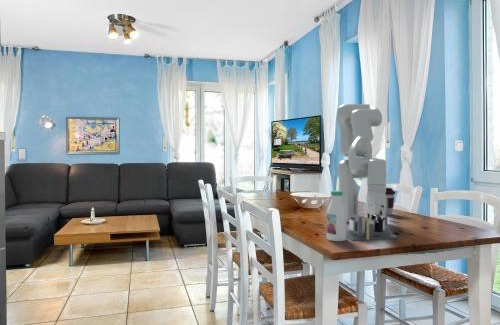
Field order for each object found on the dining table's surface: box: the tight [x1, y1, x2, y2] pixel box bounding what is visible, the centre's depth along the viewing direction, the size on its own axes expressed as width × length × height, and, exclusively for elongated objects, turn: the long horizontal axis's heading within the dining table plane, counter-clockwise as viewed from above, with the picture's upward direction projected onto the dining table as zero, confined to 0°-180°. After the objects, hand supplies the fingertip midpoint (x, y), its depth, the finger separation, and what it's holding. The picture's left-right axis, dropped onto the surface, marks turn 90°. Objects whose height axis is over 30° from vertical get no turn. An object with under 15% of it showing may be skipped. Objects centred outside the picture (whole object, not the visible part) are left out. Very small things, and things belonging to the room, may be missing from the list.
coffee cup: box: [385, 187, 396, 216], centre depth 209 cm, size 10×10×15 cm
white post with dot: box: [348, 218, 386, 231], centre depth 156 cm, size 4×14×4 cm, turn 98°
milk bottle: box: [326, 190, 347, 242], centre depth 151 cm, size 8×8×20 cm
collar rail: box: [346, 213, 399, 241], centre depth 156 cm, size 12×20×9 cm, turn 98°
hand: (376, 230), depth 157 cm, fingers closed on white post with dot, 4 cm apart
